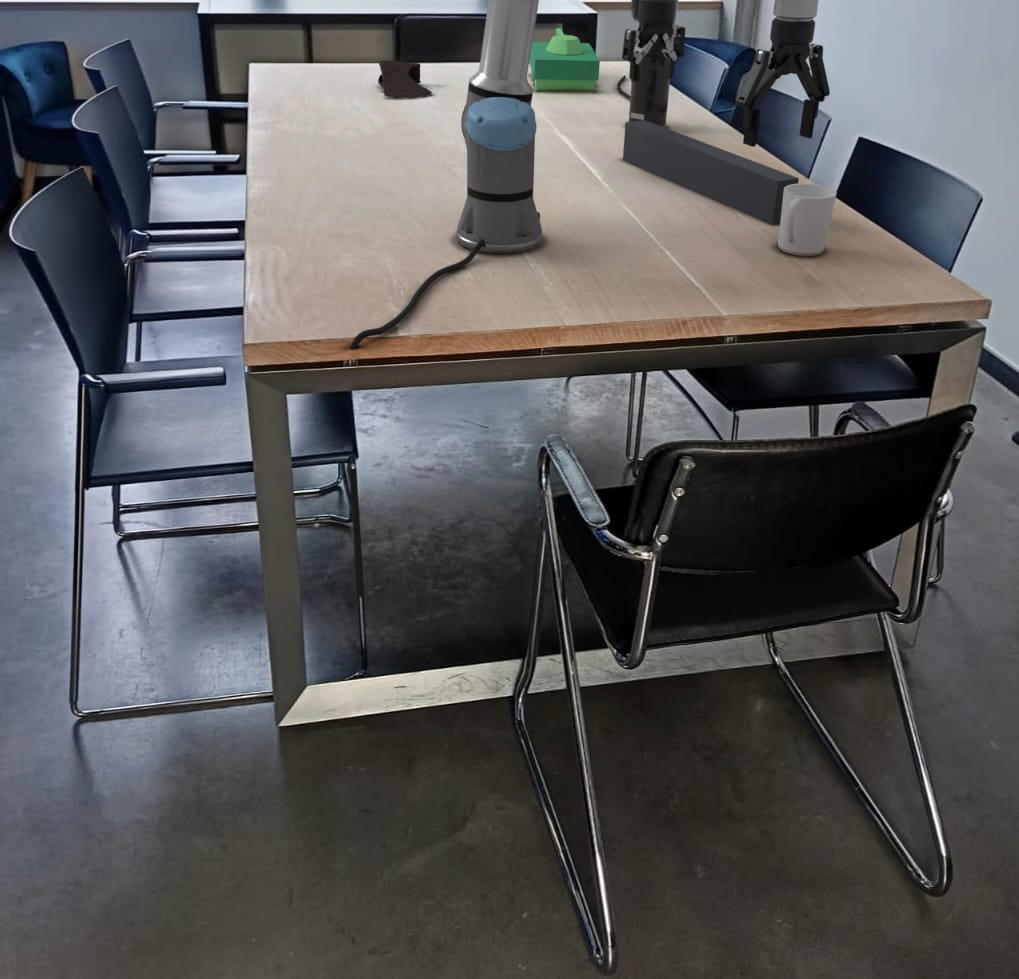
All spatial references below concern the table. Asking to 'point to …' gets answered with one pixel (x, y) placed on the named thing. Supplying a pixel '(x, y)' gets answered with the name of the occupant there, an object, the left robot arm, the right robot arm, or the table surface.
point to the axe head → (401, 79)
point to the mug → (805, 218)
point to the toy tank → (564, 64)
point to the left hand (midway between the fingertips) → (777, 140)
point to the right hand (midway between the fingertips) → (651, 80)
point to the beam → (707, 169)
